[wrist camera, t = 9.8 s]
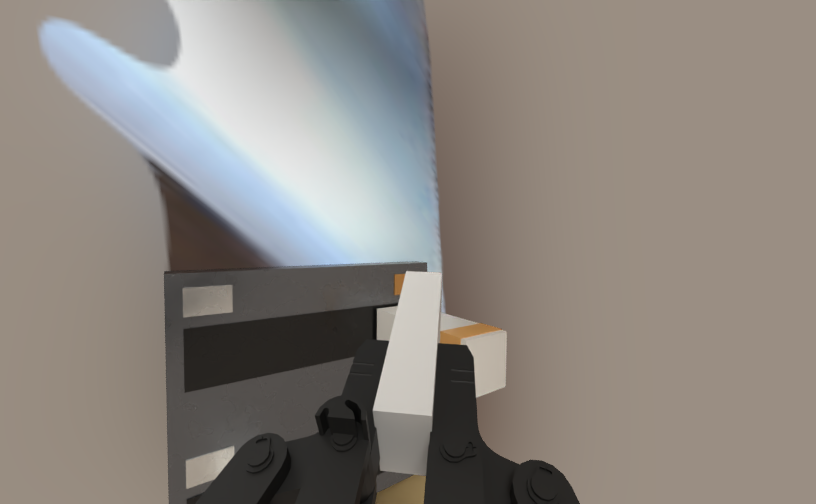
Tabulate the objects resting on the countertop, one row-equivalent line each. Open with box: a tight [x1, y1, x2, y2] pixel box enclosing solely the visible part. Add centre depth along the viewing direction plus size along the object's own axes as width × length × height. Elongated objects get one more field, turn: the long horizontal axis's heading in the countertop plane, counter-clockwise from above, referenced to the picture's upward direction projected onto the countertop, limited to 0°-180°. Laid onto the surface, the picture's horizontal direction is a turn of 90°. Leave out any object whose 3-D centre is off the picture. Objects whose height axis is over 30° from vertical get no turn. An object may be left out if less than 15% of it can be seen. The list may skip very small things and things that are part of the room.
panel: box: [164, 261, 427, 504], centre depth 30 cm, size 22×22×2 cm
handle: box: [377, 306, 507, 398], centre depth 28 cm, size 4×4×12 cm
